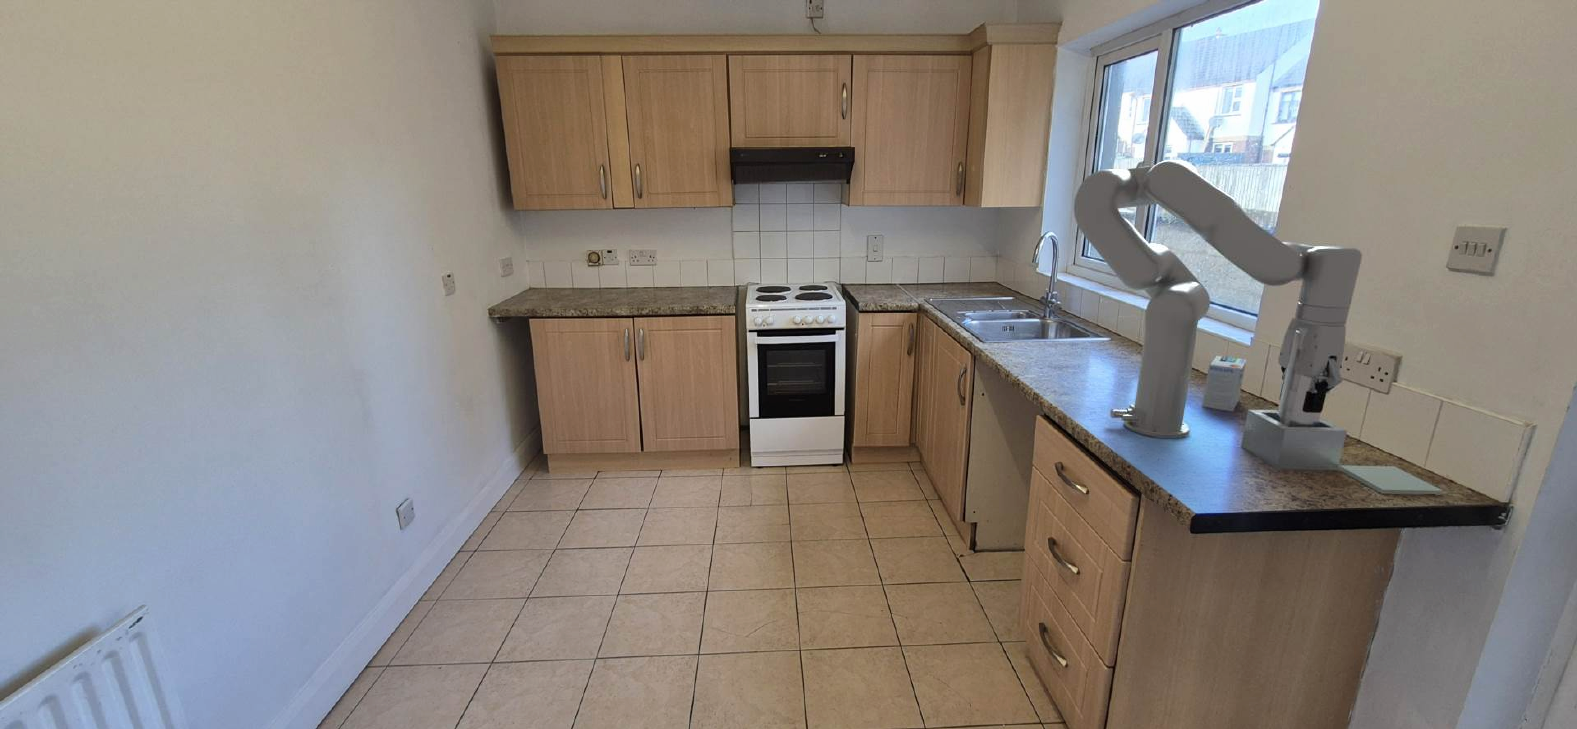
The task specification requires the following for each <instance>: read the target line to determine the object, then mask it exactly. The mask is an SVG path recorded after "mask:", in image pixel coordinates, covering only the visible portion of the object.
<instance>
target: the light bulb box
mask: <svg viewBox="0 0 1577 729" xmlns="http://www.w3.org/2000/svg"><path fill="white" fill-rule="evenodd" d="M1247 360H1248V359H1245V358H1237V357H1236V358H1235V357H1228V356H1222V355H1215V356H1214V357H1213V360H1212V361H1211V362H1210V364H1209V365H1208V369H1207V376H1206V381H1205V385H1204V386H1205V387H1204V392H1203V398H1202V403H1201V407H1203V408H1204V407H1205V408H1209V409H1211V408H1212V409H1217V410H1219V411H1220V410H1221V411H1226V410H1227V411H1226V412H1231V411H1232V413H1233V412H1234V410H1235V408H1236V406H1237V405H1238V403H1239V399H1240V393H1241V390H1242V385H1243V378H1244V376H1245V369H1246V364H1247Z"/></svg>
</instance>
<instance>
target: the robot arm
mask: <svg viewBox="0 0 1577 729" xmlns="http://www.w3.org/2000/svg"><path fill="white" fill-rule="evenodd" d="M1073 202H1074V203H1073V214H1074V219H1075V221H1076V224H1077V227H1078V228H1079V230H1080V232H1081V234H1082V235H1083V236H1084V237H1085V239H1086V240H1087V241H1088V242H1089V243H1090V244H1091V246H1092V247H1093V248H1094V249H1095V251H1096V252H1097V253H1098V254H1099V256H1100V258H1102V259H1103V261H1104V262H1105V263H1106V264H1107V265H1108V266H1109V268H1110V269H1111V271H1112V272H1113V273H1114V274H1115V275H1116V276H1117V277H1118V279H1119V280H1120V281H1121V282H1122V284H1123V285H1124V286H1125V287H1127V288H1128V289H1131V290H1133V291H1144V292H1145V293H1146V294H1147V295H1148V296H1149V297H1150V299H1149V302H1148V304H1147V306H1146V309H1145V314H1144V315H1145V316H1144V334H1143V345H1142V351H1141V361H1140V365H1139V366H1140V367H1139V373H1138V380H1137V387H1136V393H1135V401H1134V404H1129V408H1128V407H1127V408H1125V409H1121V408H1120V409H1116V408H1115V409H1113V408H1111V409H1110V417H1111V418H1112V419H1121V421H1124V422H1123V424H1124V426H1125V427H1127V429H1129V430H1131V431H1133V432H1135V433H1137V434H1141V435H1144V436H1148V437H1153V438H1160V439H1182V438H1184V437H1188V435H1189V434H1190V428H1191V427H1190V426H1189V425H1188V424H1186V423H1184V422H1183V420H1184V416H1185V415H1184V414H1185V410H1186V409H1185V408H1186V404H1187V399H1188V397H1187V396H1188V392H1189V386H1190V380H1191V375H1192V370H1193V369H1192V368H1193V362H1194V361H1193V360H1194V355H1195V349H1196V342H1197V341H1196V340H1197V339H1196V338H1197V329H1198V325H1199V321H1200V320H1202V318H1204V317H1205V316H1206V315H1207V313H1208V312H1209V309H1210V305H1211V298H1210V295H1209V291H1207V289H1206V288H1205V286H1204V285H1203V284H1202V283H1201V281H1200V280H1199V279H1198V278H1197V277H1196V276H1195V275H1194V274H1193V273H1192V272H1191V271H1190V269H1189V268H1188V267H1187V266H1186V265H1185V263H1184V262H1183V261H1182V260H1181V259H1180V258H1179V256H1177V255H1176V253H1174V252H1173V251H1172V250H1171V249H1169V248H1168V247H1167V246H1165V245H1163V244H1158V243H1154V242H1153V243H1149V242H1148V241H1147V240H1146V239H1145V238H1144V237H1143V235H1141V234H1140V232H1138V230H1137V229H1136V227H1134V226H1133V224H1132V223H1131V222H1130V221H1129V220H1128V219H1127V218H1125V217H1124V216H1123V215H1122V213H1121V212H1120V210H1119V209H1125V208H1126V209H1127V208H1135V207H1136V208H1137V207H1147V206H1154V205H1158V206H1159V207H1161V208H1162V209H1164V210H1165V211H1166V212H1168V214H1170V215H1172V216H1173V217H1175V218H1176V219H1178V220H1179V221H1181V223H1183V224H1185V225H1186V226H1187V227H1188V228H1189V229H1191V230H1192V231H1194V232H1195V233H1196V234H1198V235H1199V236H1200V238H1202V239H1203V240H1204V241H1205V242H1206V243H1207V244H1208V245H1209V246H1211V247H1212V248H1213V249H1215V250H1216V251H1217V252H1218V253H1219V254H1220V255H1221V256H1223V258H1225V259H1227V260H1228V261H1229V262H1230V263H1231V264H1233V265H1234V266H1236V267H1237V268H1238V269H1239V270H1241V271H1243V273H1245V274H1246V275H1248V276H1249V277H1251V278H1252V279H1254V280H1255V282H1258V283H1260V284H1263V285H1265V286H1269V287H1270V286H1271V287H1280V286H1284V285H1285V286H1286V285H1288V284H1289V283H1291V282H1293V281H1297V282H1299V281H1300V282H1301V286H1300V292H1299V296H1298V300H1297V305H1296V310H1295V314H1294V316H1293V317H1292V318H1291V320H1290V322H1289V323H1288V324H1289V325H1288V326H1287V329H1286V332H1285V334H1284V337H1283V341H1282V344H1281V347H1280V350H1279V355H1278V358H1277V359H1278V364H1279V365H1280V369H1281V372H1282V375H1281V380H1282V381H1283V382H1282V386H1281V390H1280V393H1279V400H1280V397H1281V393H1282V388H1283V384H1284V379H1285V375H1286V370H1287V367H1288V363H1289V358H1290V354H1291V349H1292V345H1293V340H1294V336H1295V331H1296V330H1297V331H1299V327H1302V328H1306V329H1308V330H1307V332H1306V334H1305V336H1304V339H1303V342H1302V344H1303V345H1304V346H1303V345H1302V347H1303V350H1301V349H1299V351H1298V356H1297V360H1296V365H1295V369H1294V371H1295V372H1296V373H1298V374H1300V375H1303V376H1306V377H1312V378H1311V382H1310V392H1308V391H1307V392H1306V397H1305V401H1304V405H1303V411H1304V412H1306V413H1321V414H1322V412H1323V409H1324V405H1325V401H1326V396H1327V394H1330V392H1331V390H1333V389H1334V388H1335V387H1337V386H1338V385H1340V384H1341V383H1342V382H1343V378H1342V375H1341V372H1340V369H1341V365H1342V361H1343V357H1344V352H1345V351H1344V350H1345V346H1346V345H1345V343H1346V333H1347V332H1346V331H1347V330H1346V328H1347V326H1346V324H1347V320H1348V316H1349V313H1350V309H1351V304H1352V299H1353V295H1354V291H1355V287H1356V283H1357V279H1358V275H1359V270H1360V267H1361V263H1362V259H1363V258H1362V257H1363V255H1362V254H1363V253H1362V252H1361V251H1360V250H1359V249H1358V248H1355V247H1349V246H1338V245H1321V246H1317V245H1309V244H1303V243H1297V242H1290V241H1281V240H1280V239H1278V238H1277V237H1275V236H1274V235H1272V234H1271V233H1269V232H1268V231H1266V230H1265V229H1263V228H1262V227H1261V226H1260V225H1258V224H1257V223H1256V222H1255V221H1253V219H1251V218H1250V217H1249V216H1248V215H1247V213H1246V212H1245V211H1244V209H1243V207H1242V206H1241V204H1240V203H1239V202H1238V201H1237V200H1236V199H1235V198H1234V197H1232V196H1231V195H1229V194H1228V193H1226V192H1225V191H1223V190H1222V189H1220V188H1219V187H1217V186H1216V185H1214V184H1213V183H1211V182H1210V181H1208V179H1206V178H1204V177H1203V176H1202V175H1200V174H1199V173H1198V170H1197V168H1196V167H1195V166H1194V165H1192V164H1191V163H1189V162H1187V161H1185V160H1176V159H1168V160H1167V159H1166V160H1163V161H1161V162H1158V163H1157V164H1155V165H1148V166H1141V167H1133V168H1126V169H1125V168H1124V169H1100V170H1098V171H1095V172H1093V173H1091V174H1089V175H1088V176H1087V177H1086V178H1085V179H1084V180H1083V181H1082V182H1081V184H1080V185H1079V188H1077V192H1076V194H1075V198H1074V201H1073ZM1323 371H1325V372H1327V373H1326V376H1319V375H1320V374H1321V373H1322V372H1323ZM1317 379H1324V381H1323V382H1321V383H1320V384H1318V385H1317Z"/></svg>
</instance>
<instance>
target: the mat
mask: <svg viewBox="0 0 1577 729" xmlns="http://www.w3.org/2000/svg"><path fill="white" fill-rule="evenodd" d="M1337 471H1340V472H1342V473H1343V474H1345V475H1347V476H1349V477H1351V478H1353V479H1355V480H1356V481H1358V482H1360V483H1362V484H1363V485H1366V486H1367V487H1369V488H1371V489H1373V490H1374V491H1376V492H1378V493H1379V494H1383V495H1385V494H1386V495H1388V494H1389V495H1421V494H1435V495H1434V496H1442V495H1443V493H1444V490H1442V489H1441V488H1439V487H1437V486H1434V485H1433V484H1431V483H1429V482H1426V481H1425V480H1422V479H1421V478H1418V477H1416V476H1414V475H1412V474H1410V473H1409V472H1406V471H1404V470H1403V469H1400V468H1398V467H1396V466H1394V465H1393V466H1391V465H1390V466H1389V465H1388V466H1387V465H1384V466H1383V465H1342V464H1341V465H1340V464H1339V466H1338V470H1337Z"/></svg>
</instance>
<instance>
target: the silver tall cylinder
mask: <svg viewBox="0 0 1577 729" xmlns="http://www.w3.org/2000/svg"><path fill="white" fill-rule="evenodd" d="M1307 330H1308V329H1306V328H1302V327H1299V331H1297V330H1296V331H1295V336H1294V340H1293V345H1292V349H1291V354H1290V358H1289V363H1288V367H1287V370H1286V375H1285V379H1284V380H1283V381H1284V384H1283V383H1282V385H1283V388H1282V387H1281V389H1282V393H1281V392H1280V394H1281V397H1280V396H1279V398H1280V399H1279V401H1278V407H1277V409H1276V410H1277V415H1276V419H1275V420H1276V421H1278V422H1280V423H1282V424H1284V425H1286V426H1287V427H1317V426H1318V422H1319V418H1321V414H1322V412H1321V413H1306V412H1304V411H1303V405H1304V401H1305V397H1306V392H1307V391H1308V392H1310V382H1311V378H1312V377H1306V376H1303V375H1300V374H1298V373H1296V372H1295V371H1294V369H1295V365H1296V360H1297V356H1298V351H1299V349H1301V350H1303V347H1302V345H1303V344H1302V342H1303V339H1304V336H1305V334H1306V332H1307ZM1303 346H1304V345H1303ZM1326 373H1327V372H1325V371H1323V372H1322V373H1321V374H1320V375H1319V376H1326ZM1323 381H1324V379H1317V385H1318V384H1320V383H1321V382H1323Z"/></svg>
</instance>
